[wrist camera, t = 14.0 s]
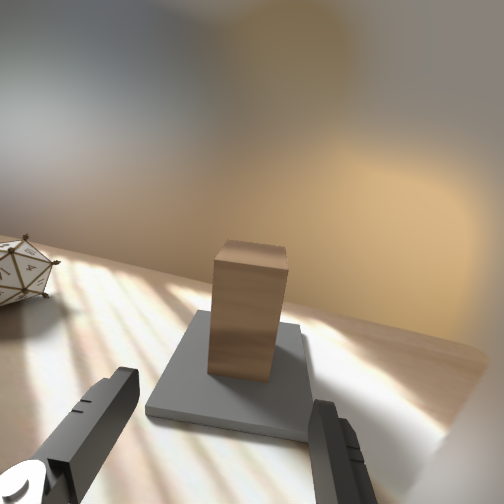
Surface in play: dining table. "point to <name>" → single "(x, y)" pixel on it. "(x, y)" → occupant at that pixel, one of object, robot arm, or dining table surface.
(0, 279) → the game die
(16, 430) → the dining table surface
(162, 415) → the rubber mat
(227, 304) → the walnut block
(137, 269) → the dining table surface
